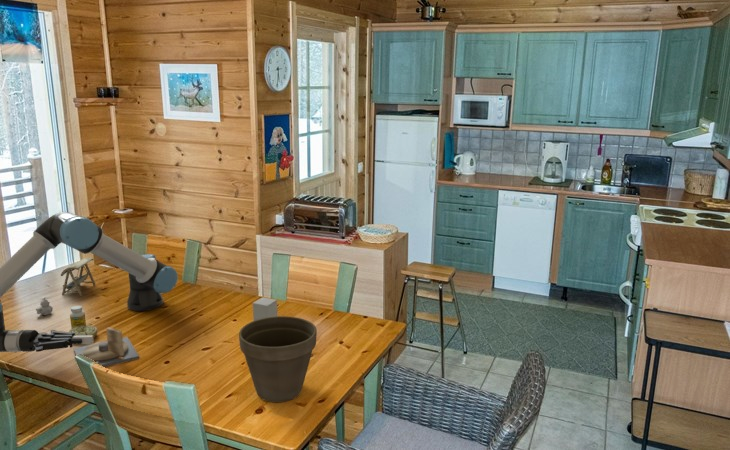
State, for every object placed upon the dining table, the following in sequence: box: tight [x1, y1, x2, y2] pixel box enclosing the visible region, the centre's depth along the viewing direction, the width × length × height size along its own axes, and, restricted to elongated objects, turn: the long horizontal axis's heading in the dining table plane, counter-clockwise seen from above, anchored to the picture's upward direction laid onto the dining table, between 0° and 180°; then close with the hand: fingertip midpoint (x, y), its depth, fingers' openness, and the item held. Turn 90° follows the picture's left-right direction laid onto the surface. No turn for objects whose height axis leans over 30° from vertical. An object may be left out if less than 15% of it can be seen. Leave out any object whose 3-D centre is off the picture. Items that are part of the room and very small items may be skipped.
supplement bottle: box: [69, 305, 87, 329], centre depth 228 cm, size 5×5×10 cm
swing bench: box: [60, 257, 97, 297], centre depth 270 cm, size 15×10×15 cm, turn 178°
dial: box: [83, 327, 128, 361], centre depth 207 cm, size 17×15×10 cm
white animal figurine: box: [35, 297, 53, 316], centre depth 242 cm, size 5×7×8 cm
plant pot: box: [238, 315, 318, 403], centre depth 184 cm, size 25×25×22 cm
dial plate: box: [73, 336, 140, 368], centre depth 209 cm, size 19×19×1 cm
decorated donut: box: [68, 324, 98, 339], centre depth 222 cm, size 10×11×4 cm
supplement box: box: [252, 297, 278, 321], centre depth 231 cm, size 7×7×13 cm
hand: (92, 339), depth 200 cm, fingers closed
